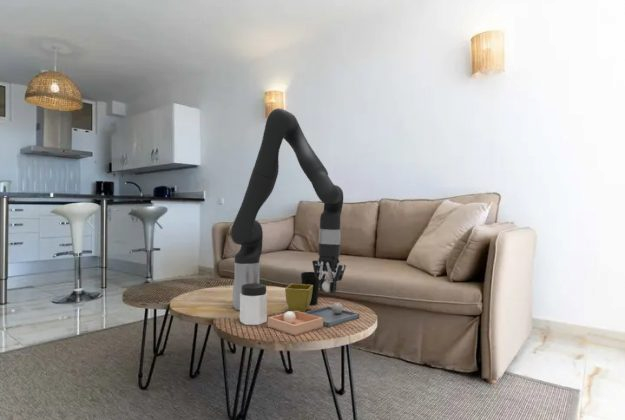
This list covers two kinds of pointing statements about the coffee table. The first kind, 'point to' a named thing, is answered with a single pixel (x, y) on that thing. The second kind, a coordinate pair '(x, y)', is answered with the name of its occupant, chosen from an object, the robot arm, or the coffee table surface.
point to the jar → (253, 304)
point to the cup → (310, 279)
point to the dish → (296, 323)
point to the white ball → (289, 317)
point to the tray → (333, 316)
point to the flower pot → (298, 296)
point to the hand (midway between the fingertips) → (327, 291)
